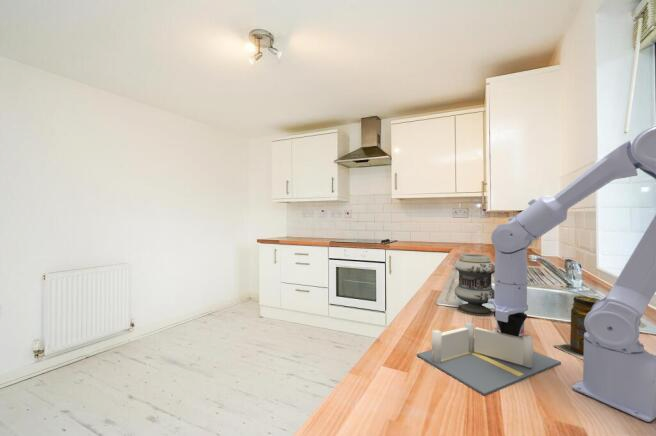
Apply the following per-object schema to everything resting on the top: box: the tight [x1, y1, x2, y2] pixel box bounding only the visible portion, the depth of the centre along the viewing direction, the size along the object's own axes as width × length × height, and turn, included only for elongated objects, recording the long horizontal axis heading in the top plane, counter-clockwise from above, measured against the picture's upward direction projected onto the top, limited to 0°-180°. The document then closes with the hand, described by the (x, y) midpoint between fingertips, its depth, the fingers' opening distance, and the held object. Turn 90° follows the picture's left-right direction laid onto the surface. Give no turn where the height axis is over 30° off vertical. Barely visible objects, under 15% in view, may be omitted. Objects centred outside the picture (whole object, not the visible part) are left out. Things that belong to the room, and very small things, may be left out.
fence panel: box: [474, 327, 534, 368], centre depth 60 cm, size 10×2×6 cm, turn 51°
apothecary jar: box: [454, 253, 495, 316], centre depth 94 cm, size 12×12×18 cm
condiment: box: [552, 295, 600, 361], centre depth 65 cm, size 7×8×12 cm
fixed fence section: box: [431, 321, 475, 363], centre depth 62 cm, size 12×2×6 cm, turn 117°
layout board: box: [416, 337, 562, 396], centre depth 61 cm, size 16×24×1 cm, turn 117°
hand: (509, 347), depth 60 cm, fingers closed, pressing on fence panel
